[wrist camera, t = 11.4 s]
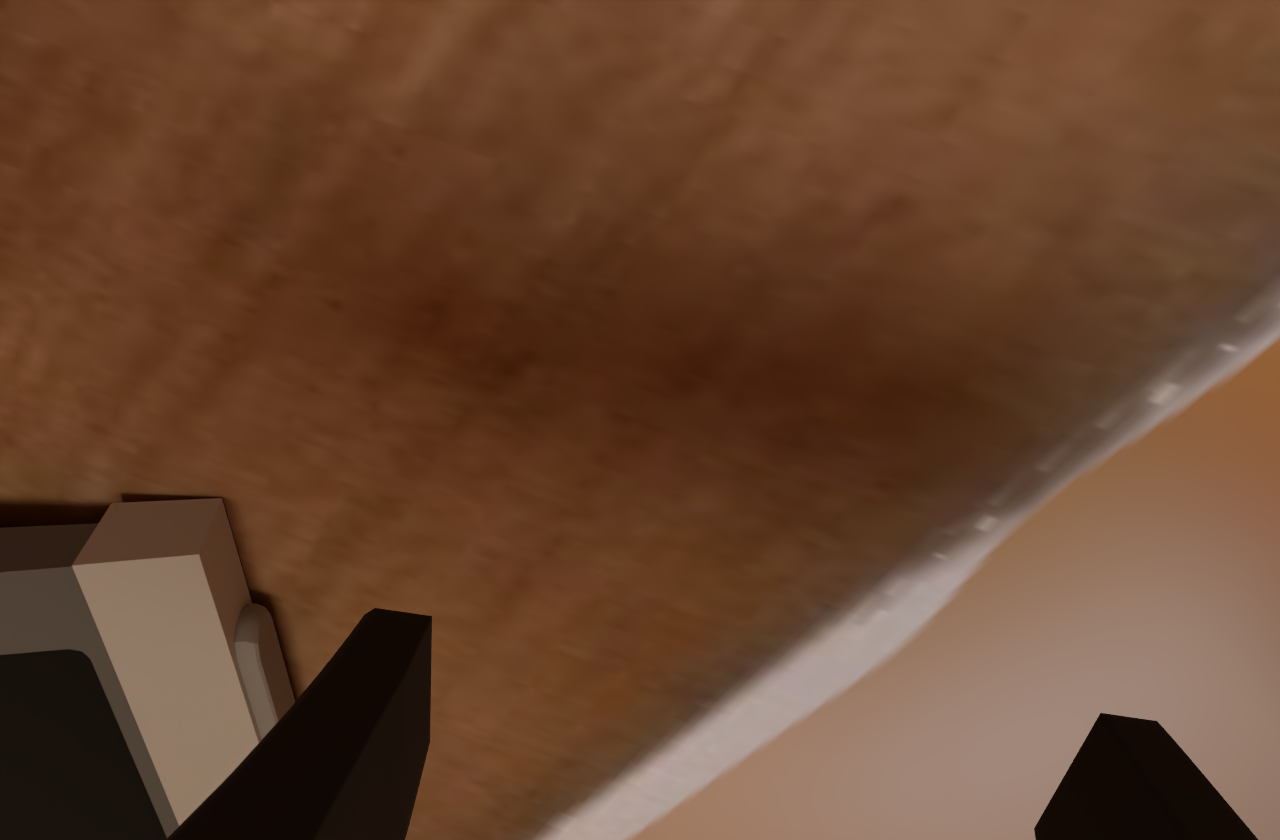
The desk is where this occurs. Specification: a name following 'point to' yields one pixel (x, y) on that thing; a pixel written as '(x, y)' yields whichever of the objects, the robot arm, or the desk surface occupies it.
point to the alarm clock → (128, 671)
